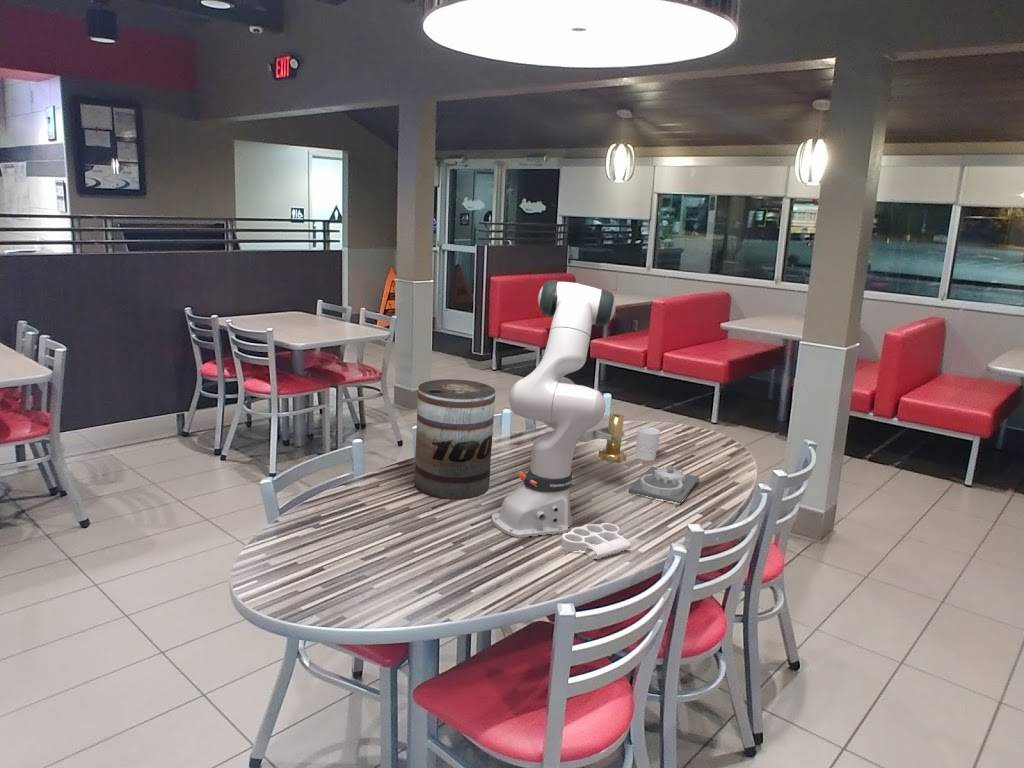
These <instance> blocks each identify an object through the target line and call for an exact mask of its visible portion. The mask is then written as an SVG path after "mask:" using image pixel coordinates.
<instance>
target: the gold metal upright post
mask: <svg viewBox="0 0 1024 768" xmlns="http://www.w3.org/2000/svg"><path fill="white" fill-rule="evenodd" d="M609 416H610V418H609V427H608V433H610V434H612V435H613V437H612V438H613V439H612V440H606V445H605V448H604V447H603V449H601V450H598V456H597V457H598V458H599V460H600V461H601V462H608V463H609V464H613V463H614V464H615V463H617V464H623V462H626V461H627V453H625V451H624V450H621V445H622V431H624V422H625V421H624V420H625V416H624V415H622V414H619V413H610V414H609Z"/></svg>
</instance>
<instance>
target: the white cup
mask: <svg viewBox="0 0 1024 768" xmlns="http://www.w3.org/2000/svg"><path fill="white" fill-rule="evenodd" d="M660 435H661V430H659V429H657V428H653V427H649V426H641V427H638V428H637V431H636V445H635V447H636V448H635V449H636V453H635V454H636V455H635V457H636V458H637V459H638V458H639V460H640V461H646V462H647V461H648V462H652V461H655V460H656V457H657V452H658V448H659V443H660Z"/></svg>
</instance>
